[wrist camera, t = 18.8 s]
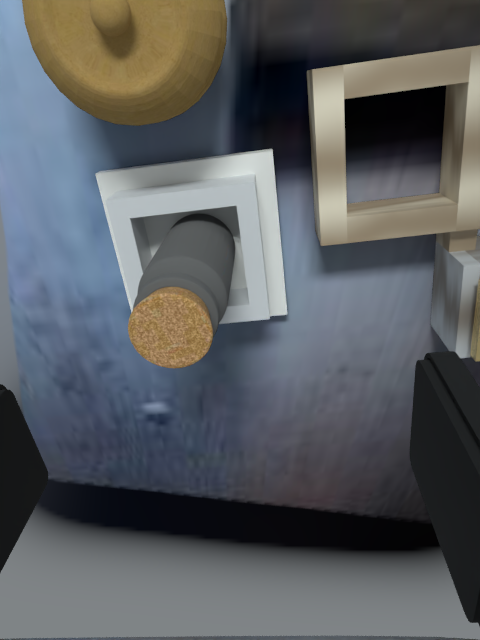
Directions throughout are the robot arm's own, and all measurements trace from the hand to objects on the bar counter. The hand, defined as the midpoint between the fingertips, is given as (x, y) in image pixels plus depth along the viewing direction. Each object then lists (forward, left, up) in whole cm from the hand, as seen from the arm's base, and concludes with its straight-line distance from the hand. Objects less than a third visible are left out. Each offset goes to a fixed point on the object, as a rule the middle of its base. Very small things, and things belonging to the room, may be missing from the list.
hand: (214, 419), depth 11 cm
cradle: (+5, -5, -30) cm, 31 cm away
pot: (-11, -6, -30) cm, 33 cm away
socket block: (+4, +14, -30) cm, 33 cm away
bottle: (+5, -4, -29) cm, 30 cm away
